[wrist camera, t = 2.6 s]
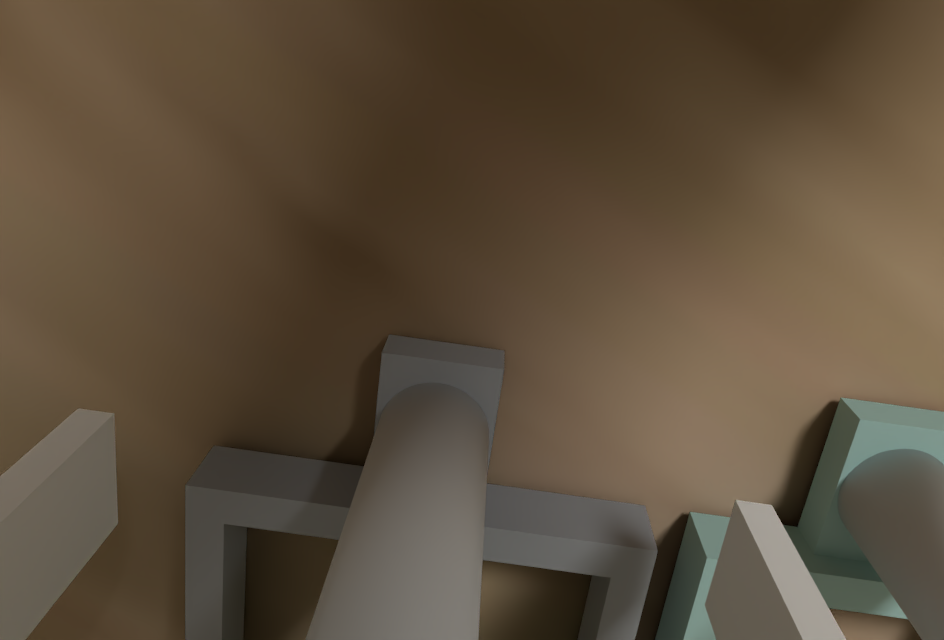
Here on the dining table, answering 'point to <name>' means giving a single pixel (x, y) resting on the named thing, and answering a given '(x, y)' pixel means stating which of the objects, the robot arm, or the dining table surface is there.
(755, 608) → the robot arm
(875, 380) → the dining table surface
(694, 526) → the lane
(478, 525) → the frame
